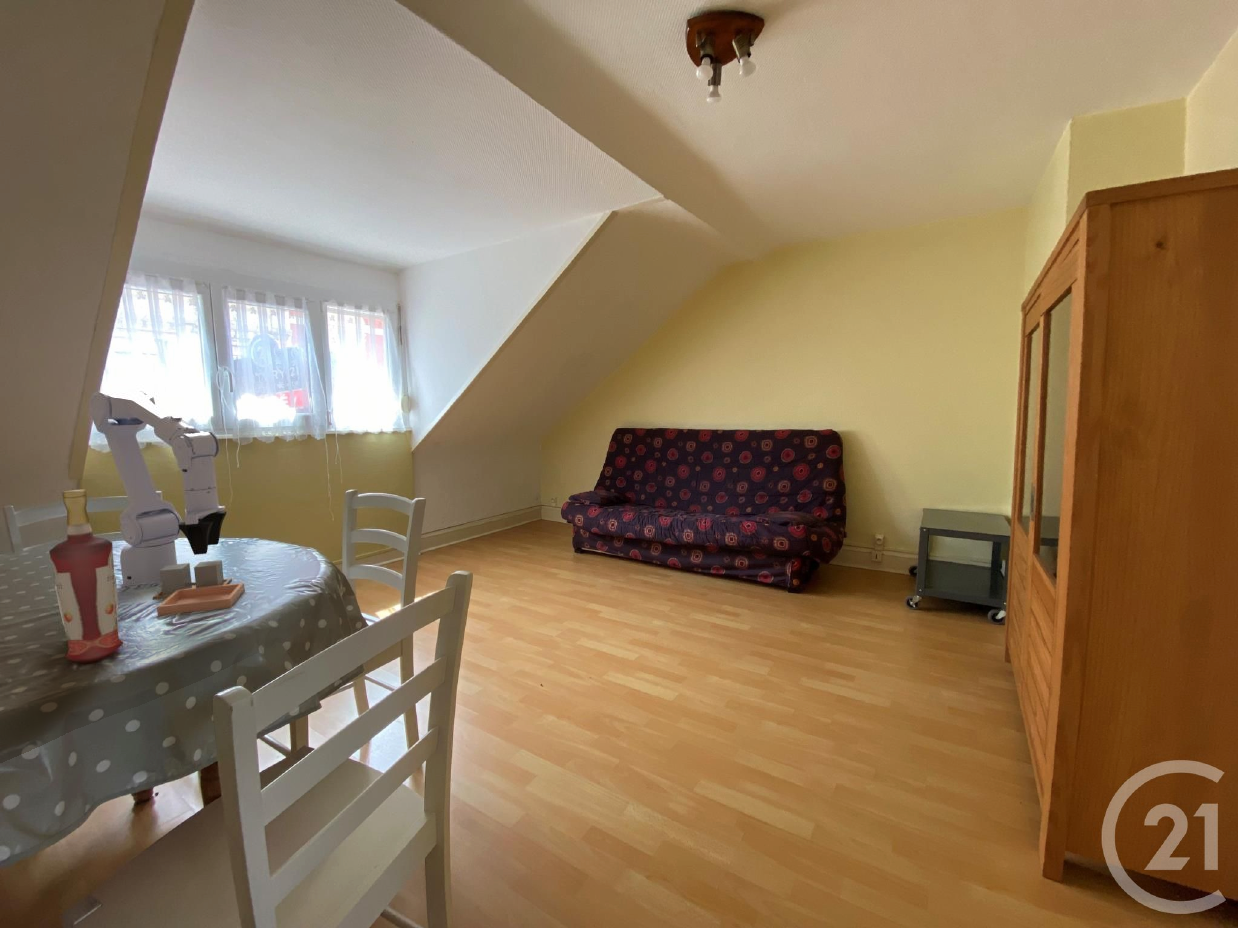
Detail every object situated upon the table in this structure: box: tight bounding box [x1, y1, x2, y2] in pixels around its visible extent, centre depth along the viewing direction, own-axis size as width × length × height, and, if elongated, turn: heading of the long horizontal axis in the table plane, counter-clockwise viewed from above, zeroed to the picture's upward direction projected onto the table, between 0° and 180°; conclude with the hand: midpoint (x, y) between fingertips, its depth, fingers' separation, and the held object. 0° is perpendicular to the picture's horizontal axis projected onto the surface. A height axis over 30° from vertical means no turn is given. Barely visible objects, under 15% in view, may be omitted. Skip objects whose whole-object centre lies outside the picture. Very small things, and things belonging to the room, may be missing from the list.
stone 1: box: [160, 562, 193, 595], centre depth 119 cm, size 4×4×6 cm
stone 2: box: [193, 559, 225, 588], centre depth 121 cm, size 4×4×6 cm
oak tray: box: [151, 577, 233, 601], centre depth 120 cm, size 12×8×1 cm, turn 111°
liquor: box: [48, 489, 124, 664], centre depth 89 cm, size 7×7×28 cm
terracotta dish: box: [156, 582, 246, 617], centre depth 113 cm, size 12×10×2 cm
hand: (206, 549), depth 120 cm, fingers open, 7 cm apart
